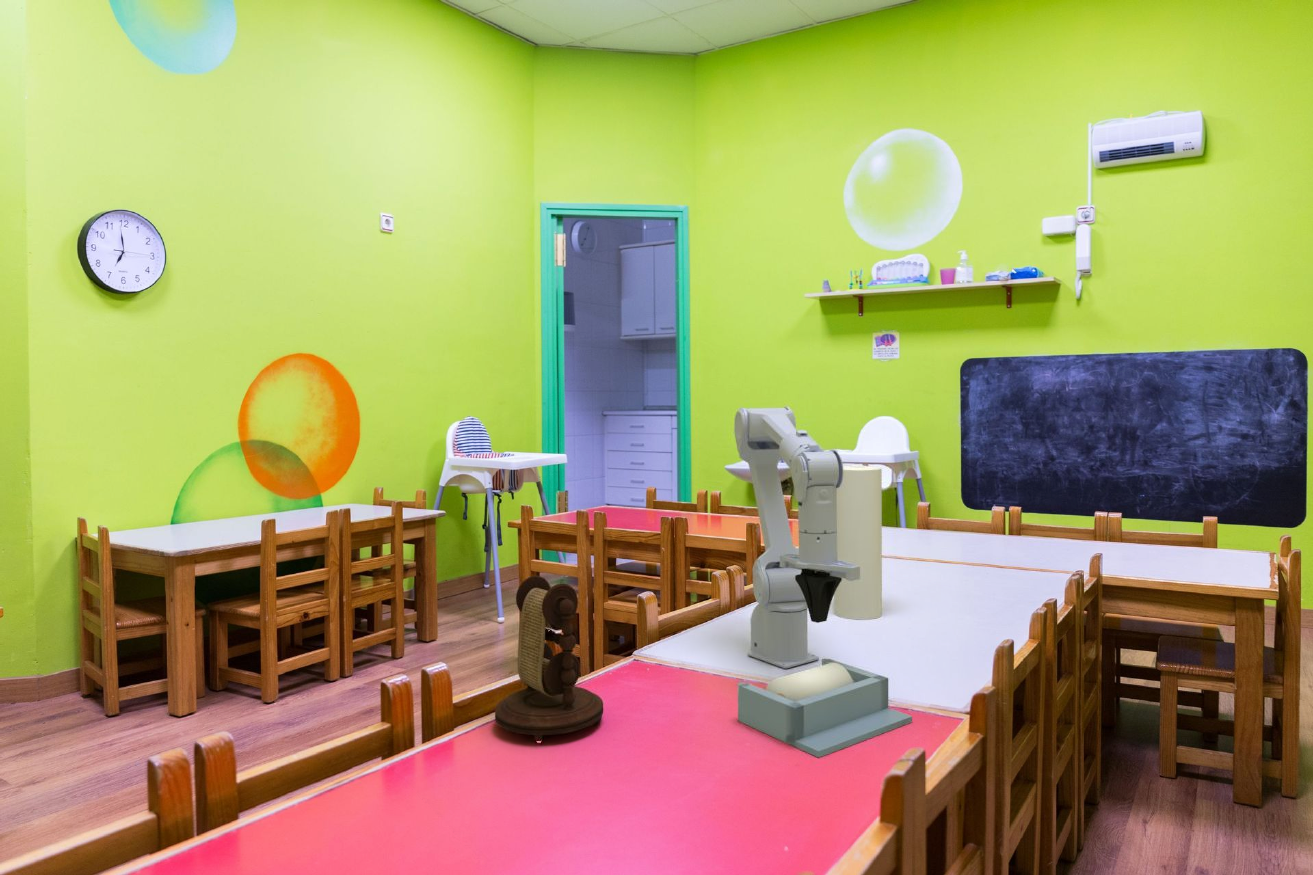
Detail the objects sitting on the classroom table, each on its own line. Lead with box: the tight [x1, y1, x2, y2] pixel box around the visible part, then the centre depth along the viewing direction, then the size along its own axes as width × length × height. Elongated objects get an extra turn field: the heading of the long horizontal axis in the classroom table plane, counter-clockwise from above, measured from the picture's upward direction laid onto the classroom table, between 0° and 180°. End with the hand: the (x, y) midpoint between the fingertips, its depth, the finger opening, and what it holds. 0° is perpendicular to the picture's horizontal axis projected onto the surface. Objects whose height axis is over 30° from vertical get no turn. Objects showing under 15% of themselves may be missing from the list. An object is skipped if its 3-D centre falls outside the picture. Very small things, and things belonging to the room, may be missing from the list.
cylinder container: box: [833, 464, 883, 621], centre depth 170 cm, size 9×9×30 cm
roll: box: [765, 663, 853, 702], centre depth 117 cm, size 12×6×6 cm, turn 126°
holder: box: [737, 658, 913, 758], centre depth 115 cm, size 15×18×5 cm
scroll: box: [494, 575, 604, 742], centre depth 115 cm, size 15×15×20 cm
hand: (819, 620), depth 127 cm, fingers closed
